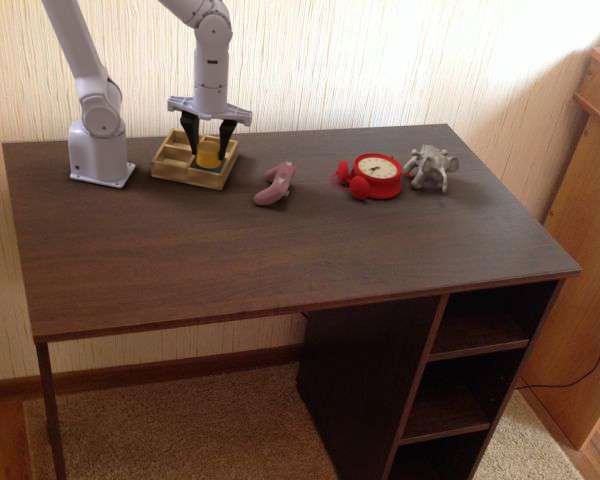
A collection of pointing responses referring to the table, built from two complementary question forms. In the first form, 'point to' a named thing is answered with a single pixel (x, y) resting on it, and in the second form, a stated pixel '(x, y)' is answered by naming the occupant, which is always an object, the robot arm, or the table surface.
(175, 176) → the grid
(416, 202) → the table surface
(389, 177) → the alarm clock
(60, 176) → the table surface
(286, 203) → the table surface
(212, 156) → the yellow cylinder
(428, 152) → the gray elephant figurine
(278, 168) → the pink curved piece
